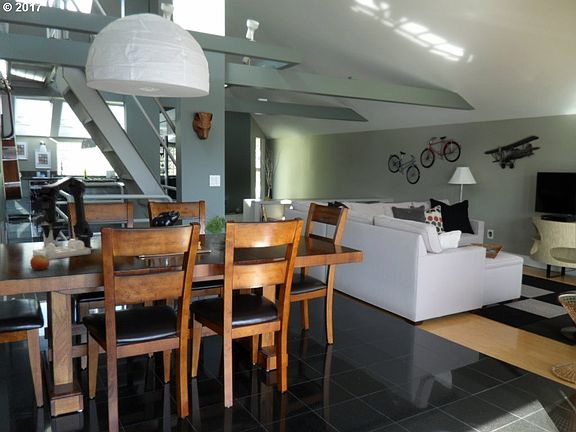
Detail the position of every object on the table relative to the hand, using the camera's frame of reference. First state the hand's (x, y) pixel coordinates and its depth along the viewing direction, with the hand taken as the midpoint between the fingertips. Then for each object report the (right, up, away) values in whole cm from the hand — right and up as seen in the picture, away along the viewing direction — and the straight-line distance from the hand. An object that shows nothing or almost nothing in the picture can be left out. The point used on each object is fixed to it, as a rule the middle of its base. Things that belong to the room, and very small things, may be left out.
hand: (50, 239), depth 242 cm
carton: (+2, -9, +9) cm, 13 cm away
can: (-20, -6, +38) cm, 43 cm away
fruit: (+10, -13, -28) cm, 33 cm away
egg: (0, -9, +1) cm, 9 cm away
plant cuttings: (+81, -6, +59) cm, 100 cm away
